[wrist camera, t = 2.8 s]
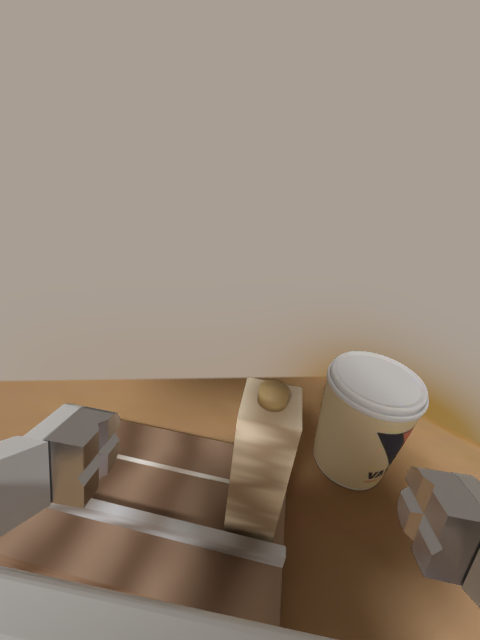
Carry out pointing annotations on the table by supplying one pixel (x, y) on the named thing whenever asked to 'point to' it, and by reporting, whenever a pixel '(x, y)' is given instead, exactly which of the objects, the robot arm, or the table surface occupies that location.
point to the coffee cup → (366, 417)
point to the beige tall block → (262, 457)
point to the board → (158, 531)
